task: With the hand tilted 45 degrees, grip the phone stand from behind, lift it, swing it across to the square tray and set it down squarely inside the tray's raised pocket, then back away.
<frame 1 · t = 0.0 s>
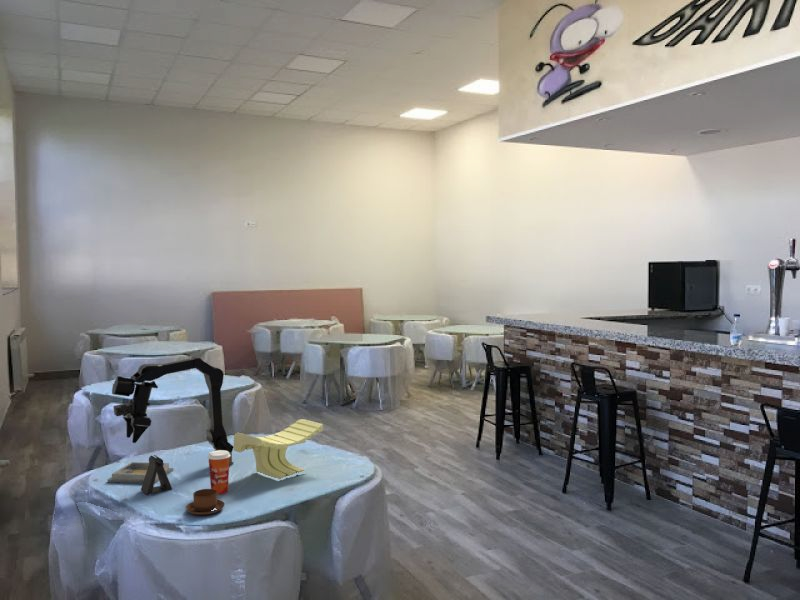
hand: (130, 440, 246), 15 cm above the table, tool pointing down, fingers open, 9 cm apart
slatted curved stool: (279, 473, 257), on the table
cup and saucer: (205, 511, 218), on the table
square tray: (141, 476, 253), on the table
phone stand: (156, 490, 238), on the table
paper cup: (219, 492, 236), on the table
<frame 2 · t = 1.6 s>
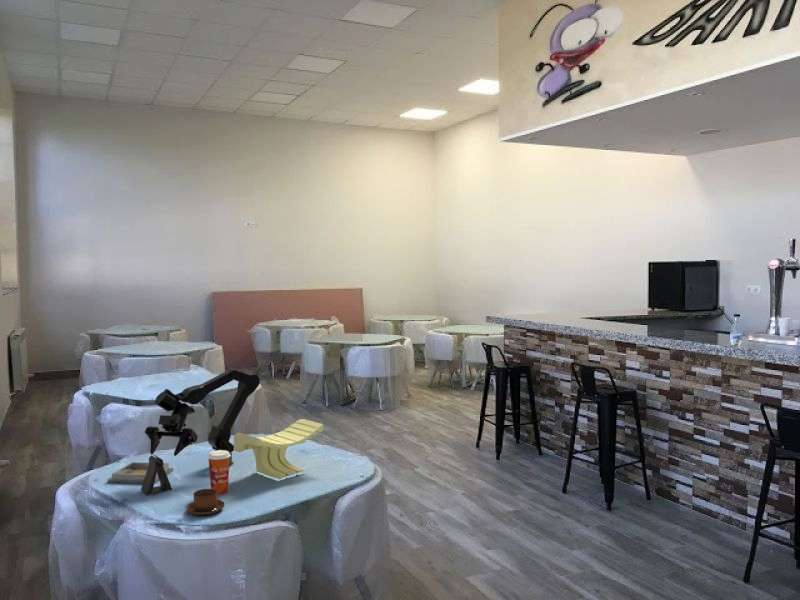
hand: (162, 454, 242), 11 cm above the table, tool tilted 45°, fingers open, 9 cm apart
nothing on the table moved.
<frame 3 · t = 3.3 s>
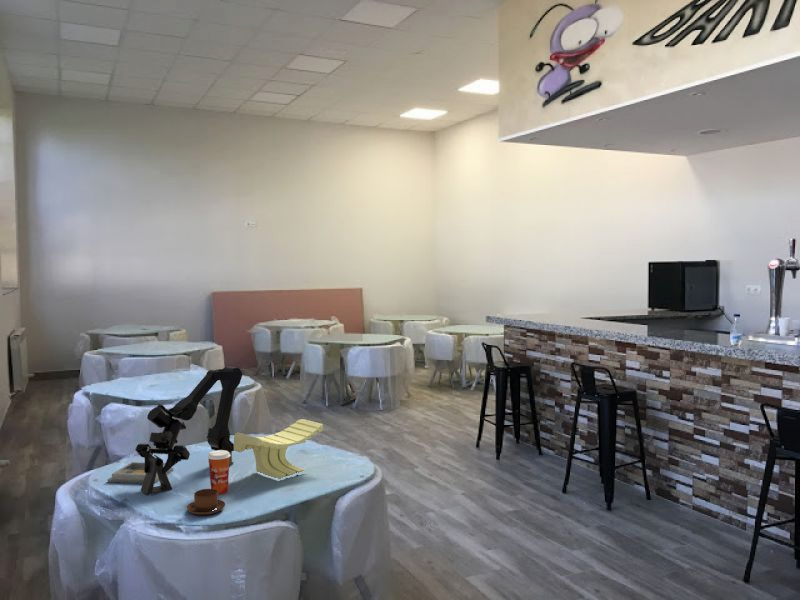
hand: (154, 473, 236), 7 cm above the table, tool tilted 45°, fingers closed on phone stand, 6 cm apart
phone stand: (156, 490, 238), on the table, touching gripper
everything else where it was.
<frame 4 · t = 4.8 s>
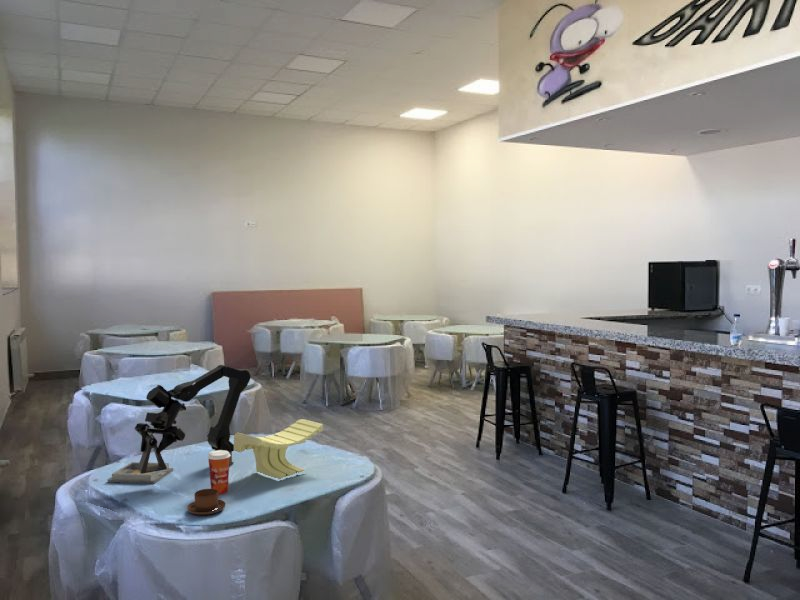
hand: (149, 452, 239), 13 cm above the table, tool tilted 45°, fingers closed on phone stand, 6 cm apart
phone stand: (152, 469, 241), point 6 cm above the table, touching gripper
everything else where it was.
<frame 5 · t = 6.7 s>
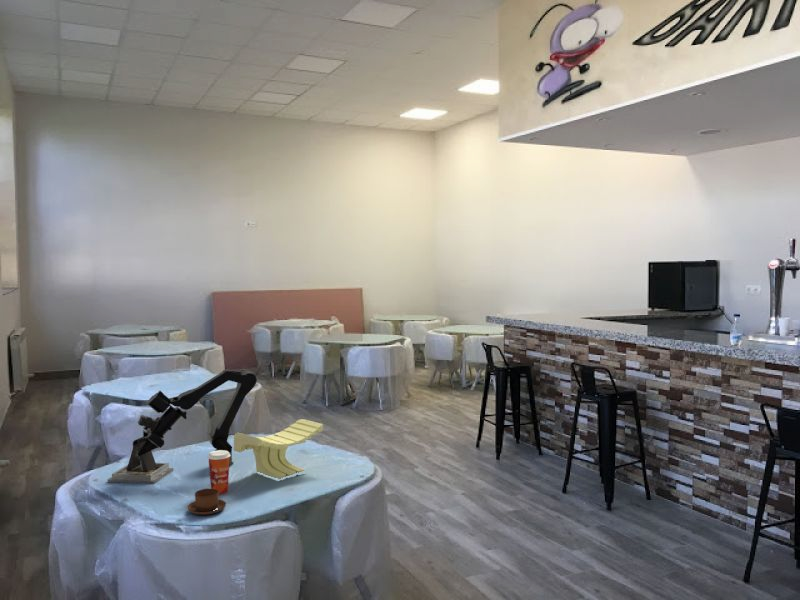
hand: (137, 452, 252), 9 cm above the table, tool tilted 45°, fingers closed on phone stand, 6 cm apart
phone stand: (141, 470, 254), point 2 cm above the table, touching gripper
everything else where it was.
when the fingers open (9 cm above the table, at t = 7.2 s): phone stand drops 1 cm, resting on square tray.
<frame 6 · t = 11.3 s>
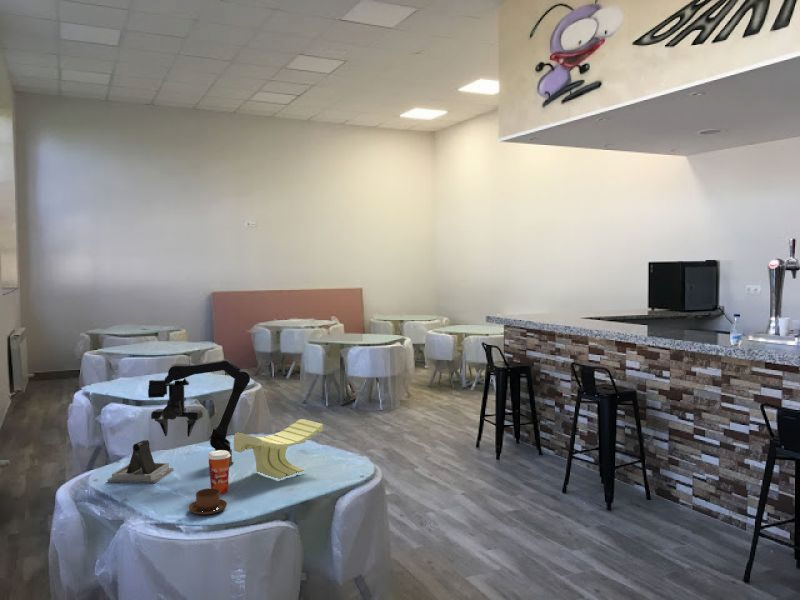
hand: (177, 436, 262), 13 cm above the table, tool pointing down, fingers open, 9 cm apart
phone stand: (141, 473, 254), point 1 cm above the table, touching square tray
everything else where it was.
at the end: phone stand inside the target area (0.2 cm from its centre), point 0.9 cm above the table; phone stand tilted 0°; the gripper is holding nothing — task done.
